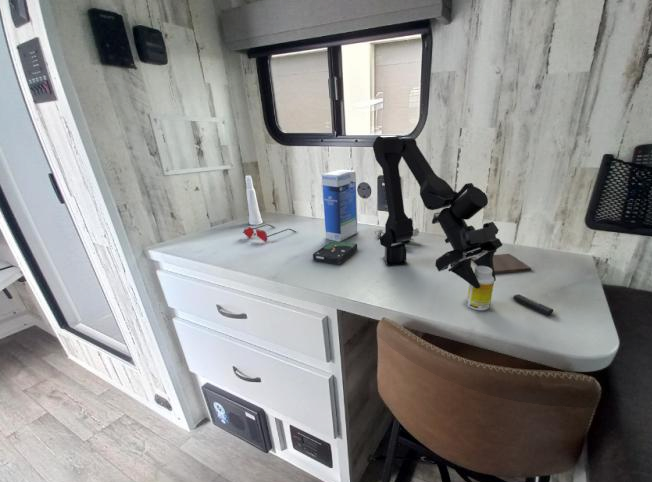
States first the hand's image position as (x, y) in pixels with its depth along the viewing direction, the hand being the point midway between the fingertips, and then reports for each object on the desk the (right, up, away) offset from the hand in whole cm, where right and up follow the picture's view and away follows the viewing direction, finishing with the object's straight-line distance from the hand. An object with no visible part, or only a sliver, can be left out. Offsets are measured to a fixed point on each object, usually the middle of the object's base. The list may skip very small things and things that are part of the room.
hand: (486, 284), depth 74 cm
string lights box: (-39, +17, +54) cm, 69 cm away
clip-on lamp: (-18, +15, +48) cm, 54 cm away
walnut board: (+15, +5, +26) cm, 30 cm away
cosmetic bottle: (-82, +25, +73) cm, 113 cm away
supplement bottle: (-1, -6, +4) cm, 7 cm away
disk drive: (-40, +8, +35) cm, 54 cm away
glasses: (-70, +18, +56) cm, 92 cm away
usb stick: (+13, -6, +3) cm, 14 cm away
